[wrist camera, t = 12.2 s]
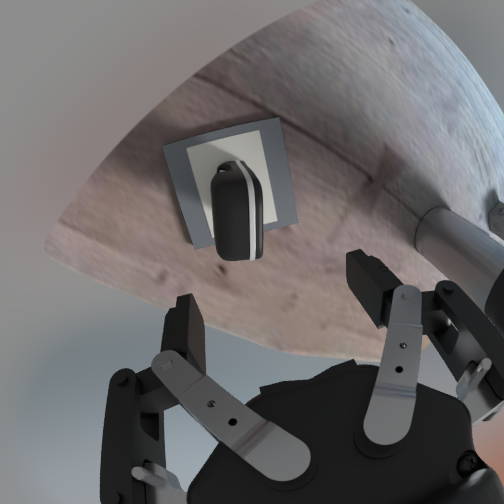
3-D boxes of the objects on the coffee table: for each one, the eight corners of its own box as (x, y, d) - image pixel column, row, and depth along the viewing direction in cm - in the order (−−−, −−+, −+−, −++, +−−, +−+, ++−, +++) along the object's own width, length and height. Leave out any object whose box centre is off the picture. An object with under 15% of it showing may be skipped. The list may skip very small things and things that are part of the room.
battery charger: (209, 159, 28) (209, 185, 18) (244, 157, 29) (264, 182, 19) (213, 219, 31) (216, 272, 22) (246, 216, 32) (264, 268, 22)
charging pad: (277, 117, 28) (279, 117, 27) (295, 219, 34) (298, 223, 33) (163, 145, 28) (161, 146, 27) (195, 246, 34) (195, 250, 33)
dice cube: (500, 218, 41) (515, 227, 37) (489, 230, 42) (504, 240, 38) (499, 201, 39) (515, 210, 34) (488, 213, 40) (504, 222, 35)
